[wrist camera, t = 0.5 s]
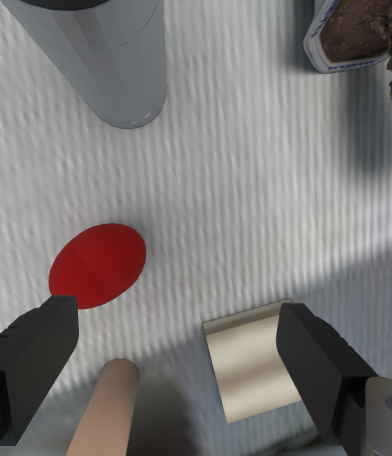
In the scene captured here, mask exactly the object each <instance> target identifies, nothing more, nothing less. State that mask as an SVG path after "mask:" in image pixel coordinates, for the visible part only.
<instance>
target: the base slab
mask: <svg viewBox="0 0 392 456" xmlns="http://www.w3.org/2000/svg"><path fill="white" fill-rule="evenodd" d="M282 303H293V302H292V301H291V300H289V299H287V300H283V301H280V302H276V303H272V304H269V305H265V306H262V307H258V308H255V309H251V310H248V311H244V312H241V313H237V314H234V315H230V316H226V317H223V318H219V319H216V320H212V321H209V322H205V323H202V324H203V328H204V332H205V336H206V340H207V344H208V348H209V352H210V356H211V360H212V364H213V368H214V372H215V376H216V380H217V384H218V388H219V392H220V396H221V400H222V404H223V408H224V412H225V416H226V420H227V423H231V422H234V421H237V420H240V419H244V418H247V417H250V416H253V415H256V414H259V413H262V412H265V411H269V410H272V409H275V408H278V407H281V406H284V405H287V404H291V403H294V402H297V401H300V400H302V399H301V397H300V395H299V393H298V391H297V389H296V387H295V385H294V383H293V381H292V379H291V377H290V375H289V373H288V371H287V369H286V368H285V366H284V364H283V362H282V360H281V358H280V356H279V354H278V351H277V347H276V332H277V326H278V320H279V314H280V308H281V305H282Z"/></svg>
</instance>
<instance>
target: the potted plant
mask: <svg viewBox="0 0 392 456" xmlns="http://www.w3.org/2000/svg"><path fill="white" fill-rule="evenodd" d="M314 5H315V10H314V17H313V20H312V23H311V25H310V27H309V29H308V31H307V34H306V36H305V38H304V40H303V46H304V50H305V52H306V54H307V55H308V57H309V58H310V60H311V62H312V64H313V65H314V67H315V68H316V69H317V70H318V71H320V72H321V73H333V72H338V71H345V70H348V69H359V68H363V67H366V66H371V65H374V64H376V63H378V62H381V61H383V60H385V59H387V58H389V57H390V60H389V62H388V64H387V69H386V70H389V71H391V72H392V0H314ZM389 86H390V87H391V91H390V98H391V100H392V81H391V82H390V84H389Z"/></svg>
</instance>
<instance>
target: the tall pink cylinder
mask: <svg viewBox="0 0 392 456" xmlns="http://www.w3.org/2000/svg"><path fill="white" fill-rule="evenodd" d="M138 381H139V371H138V369H137V367H136V366H135V365H134V364H133V363H132V362H131V361H129V360H126V359H115V360H112V361H110V362H108V363H107V364H105V365H104V366H103V368H102V369H101V371H100V374H99V376H98V379H97V381H96V384H95V386H94V388H93V391H92V393H91V396H90V398H89V400H88V403H87V405H86V408H85V410H84V413H83V415H82V417H81V420H80V422H79V425H78V427H77V430H76V432H75V434H74V437H73V439H72V442H71V444H70V446H69V449H68V452H67V454H66V456H125V455H126V449H127V444H128V438H129V432H130V426H131V421H132V415H133V409H134V404H135V398H136V393H137V387H138Z"/></svg>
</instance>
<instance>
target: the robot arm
mask: <svg viewBox="0 0 392 456" xmlns="http://www.w3.org/2000/svg"><path fill="white" fill-rule="evenodd" d="M0 1H1V2H2V3H3V4H4V6H5V7H6V8H7V9H8V10H9V11H10V13H11V14H12V15H13V16H14V17H15V18H16V19H17V21H18V22H19V23H20V24H21V25H22V27H23V28H24V29H25V30H26V31H27V33H28V34H29V35H30V36H31V37H32V39H33V40H34V41H35V42H36V43H37V44H38V46H39V47H40V48H41V49H42V50H43V52H44V53H45V54H46V55H47V56H48V58H49V59H50V60H51V61H52V62H53V64H54V65H55V66H56V67H57V68H58V70H59V71H60V72H61V73H62V74H63V76H64V77H65V78H66V79H67V80H68V82H69V83H70V84H71V85H72V86H73V87H74V89H75V90H76V91H77V92H78V93H79V95H80V96H81V97H82V98H83V100H84V101H85V102H86V103H87V104H88V106H89V107H90V108H91V109H92V110H93V111H94V113H95V114H96V115H97V116H98V117H100V118H101V119H102V120H103V121H105V122H107V123H108V124H110V125H113V126H116V127H119V128H127V129H128V128H137V127H140V126H143V125H145V124H147V123H148V122H150V121H152V120H153V119H154V118H155V117H156V116H157V115H158V113H159V112H160V110H161V109H162V106H163V104H164V101H165V97H166V56H165V24H164V0H0ZM78 337H79V323H78V305H77V298H76V296H74V295H52V296H51V297H50V298H49V299H48V300H47V301H45V302H44V303H43V304H42V305H41V306H40V307H39V308H34V309H32V310H30V311H29V312H27V313H25V314H23V315H21V316H19V317H18V318H17V319H16V320H15V321H14V322H13V323H12V324H10V325H9V326H8V329H5V330H4V331H3V332H1V333H0V446H16V444H17V443H18V441H19V439H20V438H21V436H22V435H23V433H24V431H25V430H26V428H27V426H28V425H29V423H30V421H31V420H32V418H33V417H34V415H35V413H36V412H37V410H38V408H39V407H40V405H41V403H42V402H43V400H44V399H45V397H46V395H47V394H48V392H49V390H50V389H51V387H52V385H53V384H54V382H55V381H56V379H57V377H58V376H59V374H60V372H61V371H62V369H63V367H64V366H65V364H66V363H67V361H68V359H69V358H70V356H71V354H72V353H73V351H74V349H75V347H76V345H77V342H78ZM276 347H277V351H278V354H279V356H280V358H281V360H282V362H283V364H284V366H285V368H286V369H287V371H288V373H289V375H290V377H291V379H292V381H293V383H294V385H295V387H296V389H297V391H298V393H299V395H300V397H301V399H302V401H303V402H304V404H305V406H306V408H307V410H308V412H309V414H310V416H311V418H312V420H313V422H314V424H315V426H316V428H317V430H318V432H319V434H320V435H321V437H322V439H323V441H324V443H325V445H342V446H343V448H344V450H345V451H346V453H347V454H346V456H392V379H389V378H385V377H379V375H378V374H377V373H376V372H375V371H374V370H373V369H372V368H371V367H370V366H369V365H368V364H367V363H366V362H365V361H364V360H363V359H362V358H361V357H360V355H359V354H358V353H357V352H356V351H355V350H354V349H353V348H352V347H351V346H349V345H348V343H347V342H346V341H345V340H344V339H343V338H342V337H340V334H339V333H338V332H337V331H336V330H335V329H334V328H333V327H332V326H331V325H330V324H328V323H327V322H325V321H324V320H322V319H321V318H319V317H315V316H314V314H313V313H312V312H311V311H310V310H309V309H308V308H307V307H306V306H305V305H304V304H303V303H282V305H281V308H280V314H279V320H278V326H277V332H276Z"/></svg>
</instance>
